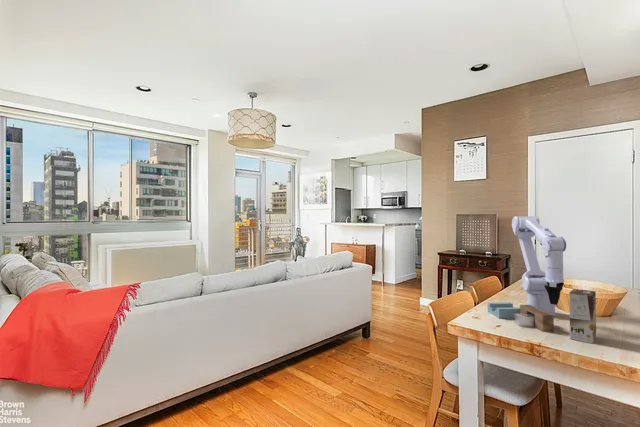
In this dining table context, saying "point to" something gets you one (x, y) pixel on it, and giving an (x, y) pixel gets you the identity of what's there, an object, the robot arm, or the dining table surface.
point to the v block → (503, 310)
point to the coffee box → (583, 315)
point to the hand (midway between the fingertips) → (554, 302)
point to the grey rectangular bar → (525, 320)
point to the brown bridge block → (539, 317)
